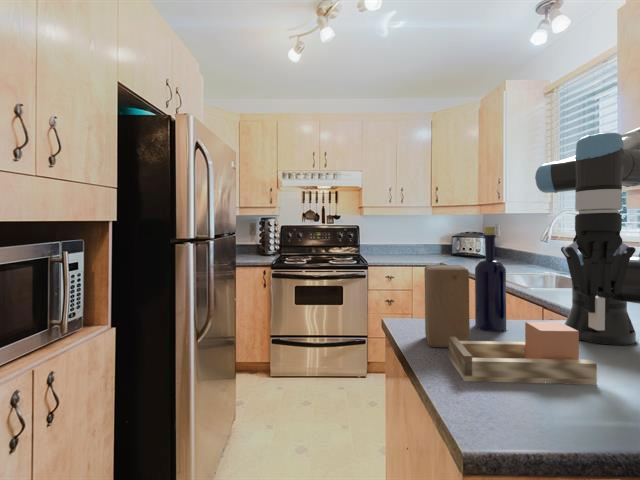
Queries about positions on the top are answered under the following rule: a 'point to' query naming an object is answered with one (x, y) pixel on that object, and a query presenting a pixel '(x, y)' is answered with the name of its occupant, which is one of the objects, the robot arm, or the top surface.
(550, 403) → the top surface
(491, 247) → the bottle
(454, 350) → the wooden tray
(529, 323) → the terracotta block
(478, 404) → the top surface
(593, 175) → the robot arm
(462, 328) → the wooden block
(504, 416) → the top surface
